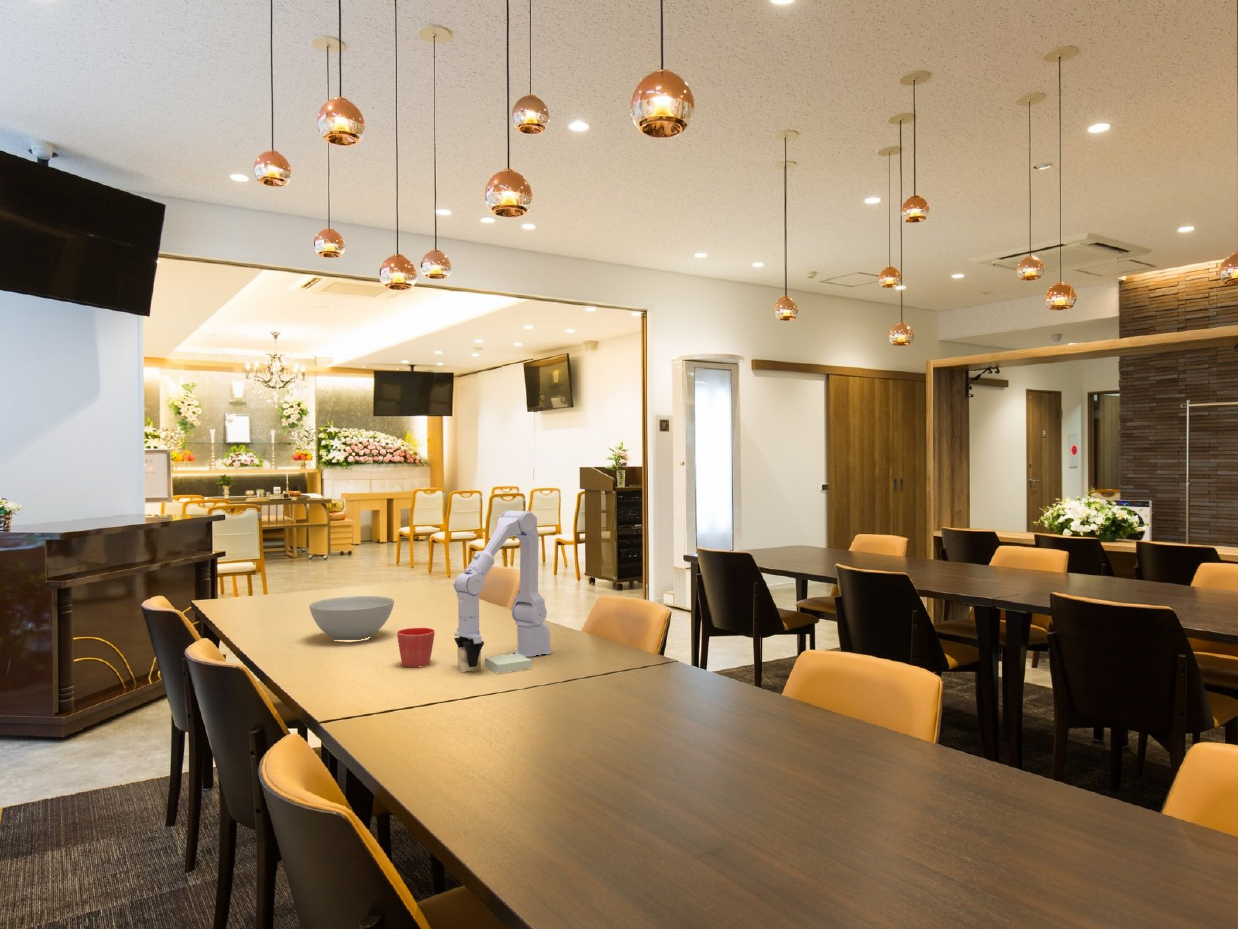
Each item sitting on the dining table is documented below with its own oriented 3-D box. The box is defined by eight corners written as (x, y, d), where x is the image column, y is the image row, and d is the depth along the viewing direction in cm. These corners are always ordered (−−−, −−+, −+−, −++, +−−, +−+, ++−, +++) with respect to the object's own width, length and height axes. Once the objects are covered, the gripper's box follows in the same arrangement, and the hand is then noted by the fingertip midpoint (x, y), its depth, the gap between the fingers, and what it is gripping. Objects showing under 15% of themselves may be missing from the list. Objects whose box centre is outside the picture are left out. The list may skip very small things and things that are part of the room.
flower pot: (440, 660, 240) (439, 627, 240) (427, 669, 229) (427, 635, 229) (405, 659, 241) (405, 627, 241) (391, 669, 230) (391, 634, 230)
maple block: (474, 666, 232) (474, 645, 232) (480, 670, 228) (480, 648, 228) (457, 668, 230) (457, 647, 230) (463, 672, 225) (463, 651, 225)
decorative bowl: (306, 635, 278) (306, 599, 278) (387, 628, 289) (387, 593, 289) (313, 651, 253) (312, 612, 253) (400, 642, 265) (400, 605, 265)
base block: (517, 663, 237) (517, 653, 237) (531, 670, 229) (531, 660, 229) (484, 668, 232) (484, 657, 232) (498, 675, 224) (498, 664, 224)
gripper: (446, 613, 233) (447, 661, 233) (463, 621, 220) (464, 672, 220) (470, 611, 237) (470, 657, 237) (488, 619, 224) (488, 668, 224)
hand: (469, 664), depth 229 cm, fingers closed on maple block, 5 cm apart
